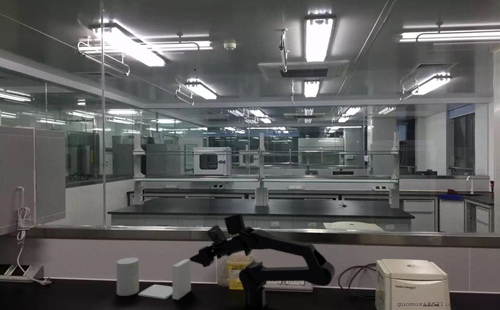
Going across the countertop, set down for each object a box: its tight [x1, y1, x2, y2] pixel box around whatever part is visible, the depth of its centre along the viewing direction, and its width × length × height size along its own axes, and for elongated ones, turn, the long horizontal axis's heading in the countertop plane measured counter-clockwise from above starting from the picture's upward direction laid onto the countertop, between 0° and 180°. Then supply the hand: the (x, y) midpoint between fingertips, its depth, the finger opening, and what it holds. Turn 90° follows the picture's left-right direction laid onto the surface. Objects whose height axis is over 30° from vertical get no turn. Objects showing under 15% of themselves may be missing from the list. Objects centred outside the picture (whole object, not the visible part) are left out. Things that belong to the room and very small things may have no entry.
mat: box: [137, 284, 173, 300], centre depth 124 cm, size 12×10×1 cm
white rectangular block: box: [171, 258, 192, 301], centre depth 122 cm, size 3×9×12 cm, turn 160°
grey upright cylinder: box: [116, 257, 140, 297], centre depth 125 cm, size 8×8×12 cm
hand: (196, 255), depth 120 cm, fingers open, 9 cm apart
